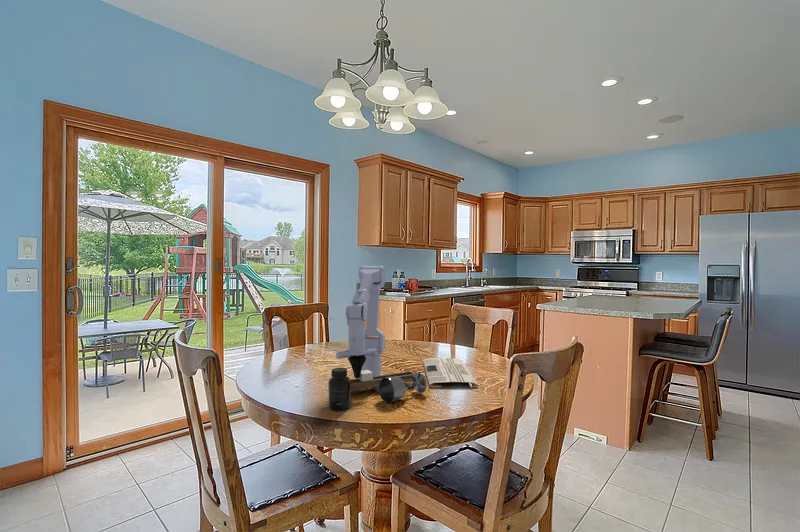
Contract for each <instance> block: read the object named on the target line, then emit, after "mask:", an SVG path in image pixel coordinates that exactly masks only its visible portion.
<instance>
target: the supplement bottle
mask: <svg viewBox="0 0 800 532" xmlns="http://www.w3.org/2000/svg"><path fill="white" fill-rule="evenodd" d="M327 385H328V408H329V410H331V409H332V410H331V411H333V410H336V411H335V412H342V410H344V411H347V410H349V409H350V407H351V402H352V401H351V400H352V399H351V396H352V395H351V392H352V391H351V390H350V377H348V369H347V368H346V367H334V368H332V369H331V374H330V379H329V380H328V384H327ZM346 409H347V410H346Z"/></svg>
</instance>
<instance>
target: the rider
mask: <svg viewBox="0 0 800 532" xmlns="http://www.w3.org/2000/svg"><path fill="white" fill-rule="evenodd" d="M357 379H359V380H360V382H361V381H362V382H364V381H370V380H373V372H371V371H369V370H362V371H361V373H360V378H357Z"/></svg>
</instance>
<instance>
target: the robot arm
mask: <svg viewBox="0 0 800 532" xmlns="http://www.w3.org/2000/svg"><path fill="white" fill-rule="evenodd" d="M357 275H358V280H359V282H360V283H359V289H357V290H355V292H354V294H353V297H352V300H351V303H350V304H348V305H346V308H345V310H346V311H345V317H346V321H347V322H346V325H347V326H348V350H343V351H337V352H335V359H337V360H341V359H348V362H349V364H350V366H351V369H352V373H353V378H354V379H358V378H360V373H361V371H362V370H369V371H371V372H373V376H379V375H384V374H383V373H382V354H383V353H384V352H385V350H386V338H385V334H384V332H383V331H381V330H380V329H379V318H380V317H379V315H380V311H379V310H380V294H381V293H380V292H381V289H382V288H383V287H385V284H386V271H385V267H384V266H383V265H360V266H359V269H358V274H357Z"/></svg>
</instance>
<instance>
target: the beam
mask: <svg viewBox="0 0 800 532" xmlns="http://www.w3.org/2000/svg"><path fill="white" fill-rule="evenodd" d="M415 373H416V372H415V371H412V370H409V371H401V372H394V373H389V374H383V375H379V376H373V380H370V381H364V382H362V381H361V382H360V380H359V379H358V378H351V379H350V378H349V379H350V390H351V392H352V391H358V390H359V391H360V390H365V389H372V390H373V391H374V392H375V393H379V383H380V381H381V379H383V378H386V377H399V378H401V379H402V380H403V381H404V382H405V383H412V379H413V376H414V374H415Z"/></svg>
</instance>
